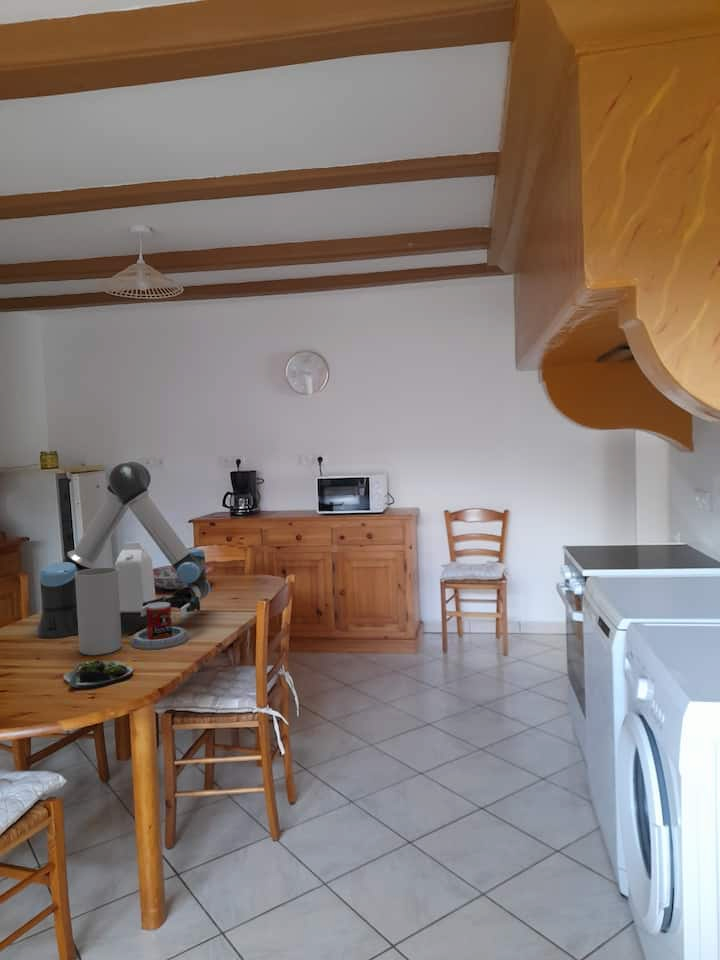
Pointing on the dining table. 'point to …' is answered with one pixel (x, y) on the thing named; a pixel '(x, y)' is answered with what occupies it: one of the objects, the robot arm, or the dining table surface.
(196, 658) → the dining table surface
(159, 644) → the round tray
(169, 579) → the ceramic bowl
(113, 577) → the cylinder vase
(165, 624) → the canned food
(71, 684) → the salad plate
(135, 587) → the milk
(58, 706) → the dining table surface
